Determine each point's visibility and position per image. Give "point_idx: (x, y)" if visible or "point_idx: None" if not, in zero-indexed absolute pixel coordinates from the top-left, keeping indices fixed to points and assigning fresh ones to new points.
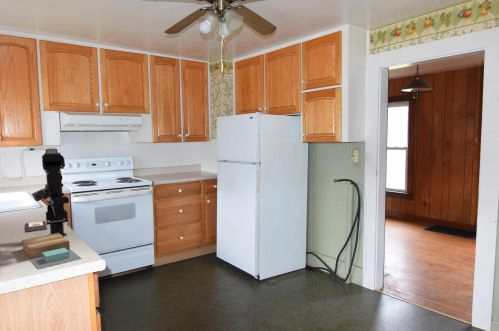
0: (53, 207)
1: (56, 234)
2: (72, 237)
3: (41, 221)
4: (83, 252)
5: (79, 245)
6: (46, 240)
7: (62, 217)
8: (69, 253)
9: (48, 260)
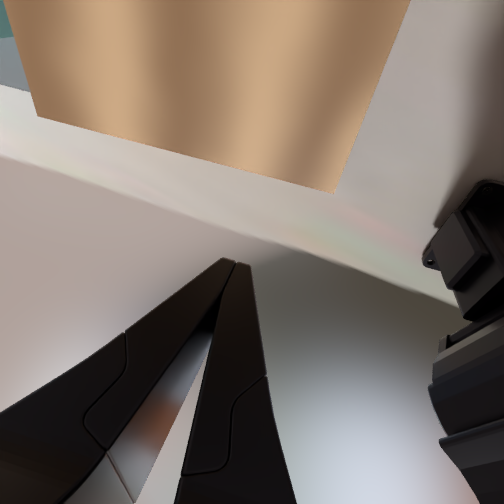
0: (21, 402)
1: (304, 159)
2: (340, 250)
3: None
4: (11, 126)
5: (151, 183)
6: None
7: (440, 360)
8: (17, 59)
9: None
